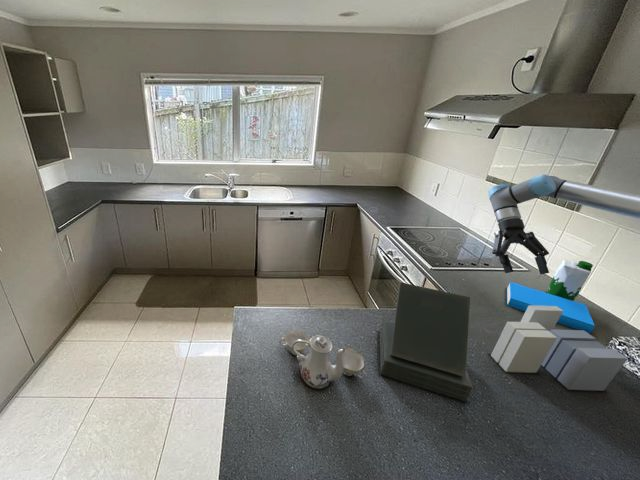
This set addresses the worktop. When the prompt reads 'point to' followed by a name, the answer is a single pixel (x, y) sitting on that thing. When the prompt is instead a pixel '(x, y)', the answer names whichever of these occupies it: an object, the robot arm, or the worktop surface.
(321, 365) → the chinaware
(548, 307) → the thin white book
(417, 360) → the dark grey display stand
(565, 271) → the milk carton
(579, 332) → the grey books
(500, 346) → the white books
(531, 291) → the book
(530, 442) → the worktop surface
